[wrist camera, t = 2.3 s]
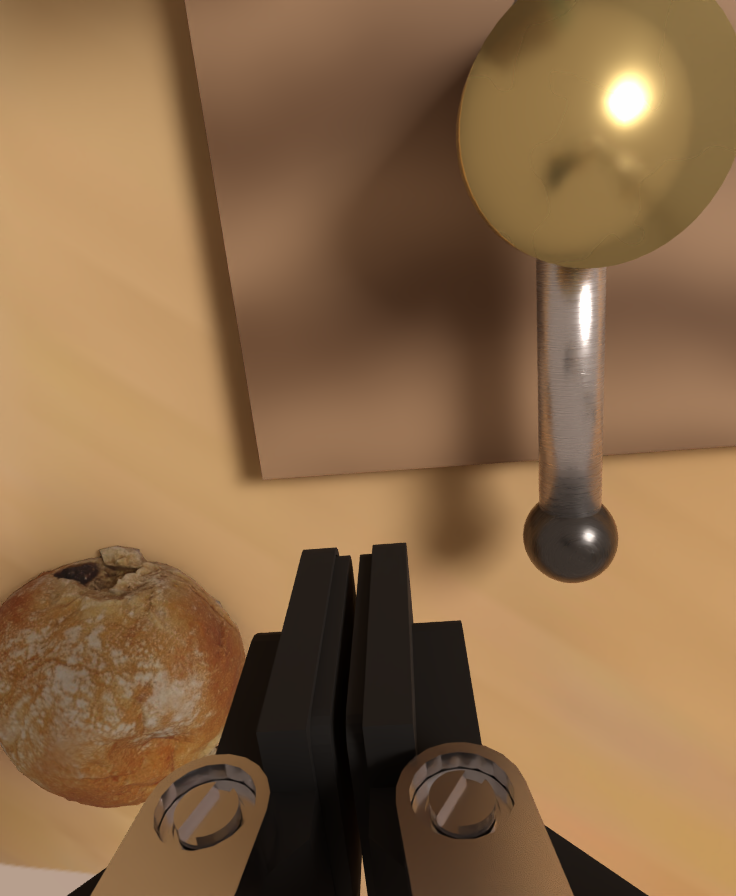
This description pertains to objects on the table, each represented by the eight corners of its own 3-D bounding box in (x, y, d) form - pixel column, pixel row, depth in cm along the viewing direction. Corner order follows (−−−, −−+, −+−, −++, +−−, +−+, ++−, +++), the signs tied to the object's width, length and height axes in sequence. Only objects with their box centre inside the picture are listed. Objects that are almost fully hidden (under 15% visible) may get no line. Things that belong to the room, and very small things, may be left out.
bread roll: (243, 522, 30) (160, 528, 22) (288, 755, 29) (219, 850, 21) (45, 568, 31) (-99, 588, 24) (81, 792, 30) (-58, 894, 22)
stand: (833, 423, 23) (1099, 557, 14) (270, 464, 25) (195, 607, 16) (957, -452, 16) (1661, -1291, 7) (148, -312, 18) (-117, -847, 9)
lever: (438, 21, 18) (451, -46, 13) (664, -8, 18) (763, -88, 13) (466, 544, 24) (483, 632, 19) (641, 533, 23) (703, 621, 18)
